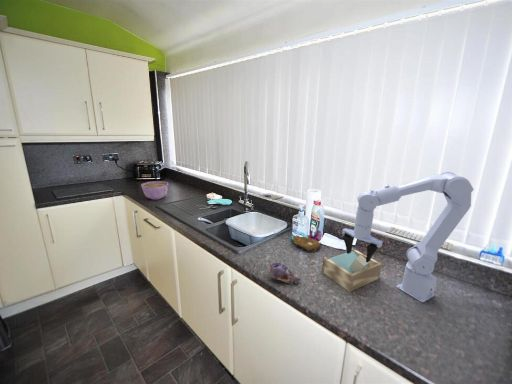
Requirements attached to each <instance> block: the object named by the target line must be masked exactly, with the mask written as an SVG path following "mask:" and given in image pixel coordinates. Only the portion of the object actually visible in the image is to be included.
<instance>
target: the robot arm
mask: <svg viewBox="0 0 512 384" xmlns="http://www.w3.org/2000/svg"><path fill="white" fill-rule="evenodd" d="M426 191H432V192H436V193H440V194H443V195H444V198H445V200H446V202H447V204H446V206H445V207H444V208H443V210H442V211H441V213H440V214H439V215H438V217H437V218H436V220H435V221H434V223H433V225H432V226H431V227H430V228H429V230H428V231H427V232H426V234H425V235H424V237H423V238H422V240H421V241H418V242H416V243H415V244H414V245H413V246H412V247H410V248H408V249H407V250H406V258H407V259H408V260H407V262H406V263H405V264H406V265H405V268H404V273H403V277H402V282H401V283H399V284H397V285H396V286H395V287H396V288H397V289H399V290H400V291H402V292H403V293H405V294H407V295H409V296H411V298H413V299H416V300H418V301H419V302H420V303H425V302H427V301H428V300H430V299H431V298H433V297H435V292H436V291H435V290H436V287H437V283H438V278H437V277H436V276H434V275H433V274H432V273H433V271H434V270H435V266H436V265H435V264H436V262H437V261H438V252H439V250H440V248H441V247H442V246H443V245H444V244H445V243H446V241H447V239H448V238H449V237H450V235H451V234H452V233H453V231H454V230H455V229H456V228H457V226H458V224H459V223H460V222H461V220H462V219H463V218H464V217H465V215H466V214H467V213H468V212H469V210H470V208H471V206H472V192H473V191H474V187H473V185H472V184H471V182H470V181H469V180H468V179H467V178H466V177H464V176H459V175H457V174H455V173H453V172H451V171H445V172H442V173H436V174H433V175H429V176H426V177H424V178H421V179H418V180H415V181H412V182H409V183H407V184H403V185H400V186H396V185H393V184H391V185H389V184H385V185H384V186H383V187H381V188H377V189H371V190H370V191H362V192H361V193H360V194H359V195H358V197H357V202H358V204H357V208H356V209H357V210H356V215H355V220H354V228H353V229H350V228H347V227H345V228H342V232H341V234H342V235H343V236H342V240H343V242H344V244H345V249H346V253H347V254H349V253H351V251H352V248H353V243H354V240H355V239H356V240H358V241H363V242H365V243H368V245H366V256H367V257H366V262H369V261H370V260H371V258H372V257H373V255H374V253H375V252H376V251H377V250H378V248H379V249H380V248H381V247H383V243H384V242H383V240H380V239H377V237H374V236H372V234H371V233H372V227H373V222H374V221H373V220H374V216H375V215H374V213H375V209H376V208H377V207H379V206H382V205H383V206H384V205H387V204H388V205H389V204H391V203H395V202H398V201H400V199H401V198H402V197H403V196H408V195H413V194H417V193H422V192H426Z"/></svg>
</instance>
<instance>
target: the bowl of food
mask: <svg viewBox="0 0 512 384" xmlns="http://www.w3.org/2000/svg"><path fill="white" fill-rule="evenodd" d="M140 186H141V189H142V192H143V194H144V196H145V197H146V198H147V199H149V200H150V199H151V200H153V201H154V200H155V201H156V200H160V199H163V198H164V197H166V195H168V191H169V182H168V181H165V180H164V181H162V180H156V181H147V182H144V183H141V184H140Z"/></svg>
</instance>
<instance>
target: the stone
mask: <svg viewBox="0 0 512 384" xmlns="http://www.w3.org/2000/svg"><path fill="white" fill-rule="evenodd" d="M368 263H369V262H366V259H365V258H364V257H363V256H362V255H359V256H358V257H357V258H355V260H354V261H353V263H352V264H351V266H350V267H349V268H350V269H351V270H352V271H354V272H355V273H356V272H358V271H360V270H363V269H365V267H366V266H367V265H368Z"/></svg>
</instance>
